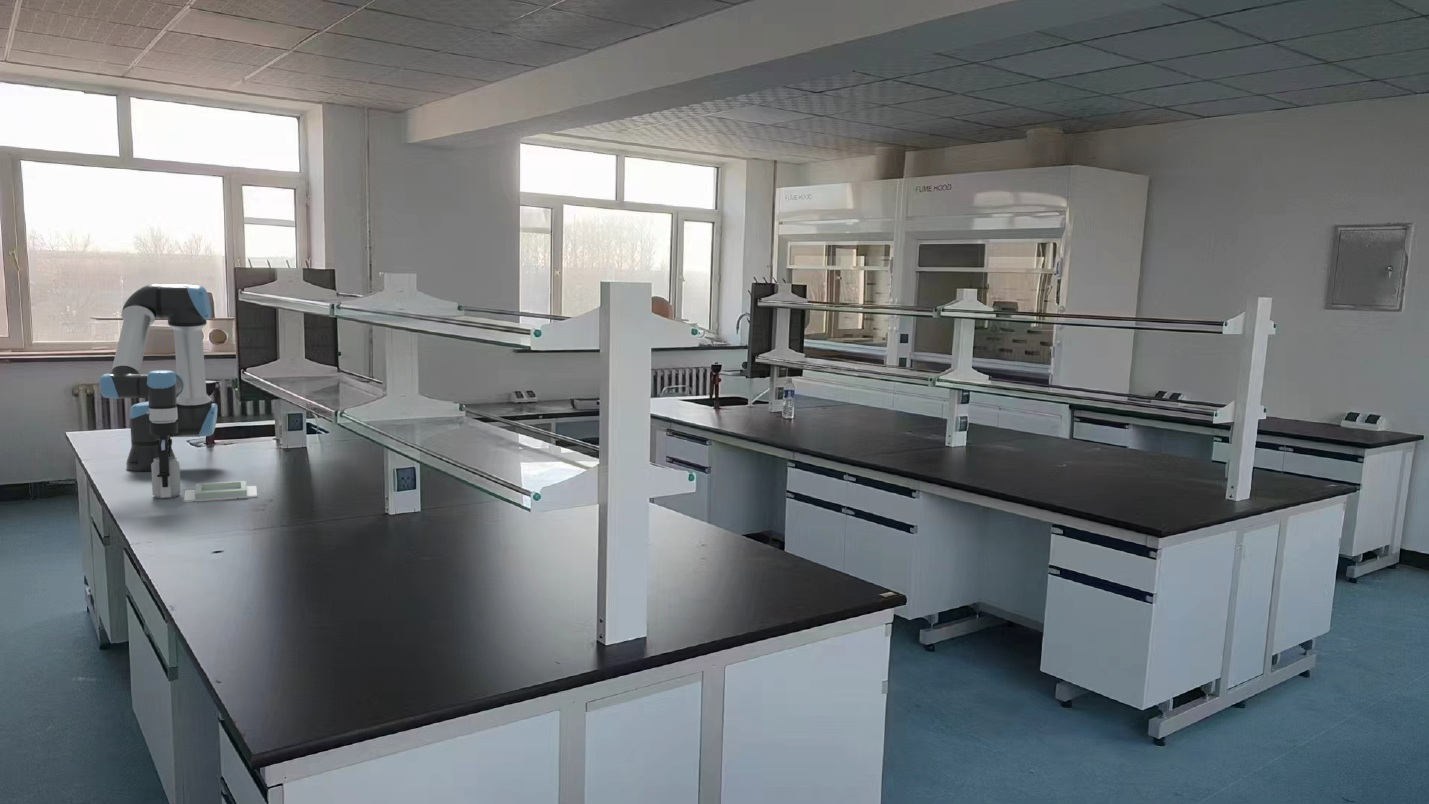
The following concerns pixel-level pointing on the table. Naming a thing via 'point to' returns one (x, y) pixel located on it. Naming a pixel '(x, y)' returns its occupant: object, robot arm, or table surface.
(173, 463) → the can
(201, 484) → the green and white tray
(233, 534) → the table surface
